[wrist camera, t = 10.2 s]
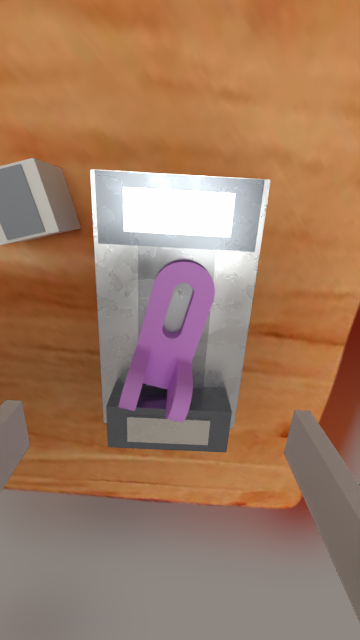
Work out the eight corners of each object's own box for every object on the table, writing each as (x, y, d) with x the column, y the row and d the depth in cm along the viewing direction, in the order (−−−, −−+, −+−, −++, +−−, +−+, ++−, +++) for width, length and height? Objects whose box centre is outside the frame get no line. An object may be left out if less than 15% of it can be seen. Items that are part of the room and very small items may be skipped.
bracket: (180, 385, 30) (180, 432, 24) (129, 372, 30) (115, 416, 23) (221, 269, 26) (234, 287, 19) (162, 251, 25) (156, 264, 19)
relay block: (30, 240, 26) (-4, 245, 21) (8, 181, 25) (-35, 174, 20) (81, 228, 26) (58, 231, 21) (62, 168, 24) (32, 157, 19)
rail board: (105, 417, 33) (92, 451, 28) (93, 171, 24) (71, 160, 19) (232, 422, 34) (240, 458, 29) (267, 180, 24) (288, 172, 20)
